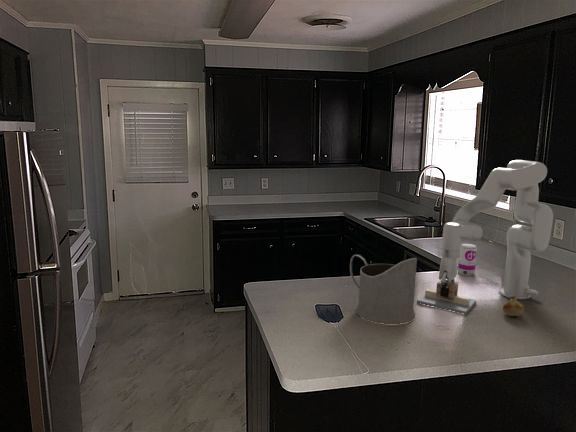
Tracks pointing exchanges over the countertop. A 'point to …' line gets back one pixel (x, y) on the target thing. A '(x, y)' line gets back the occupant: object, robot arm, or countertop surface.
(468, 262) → the supplement can
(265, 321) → the countertop surface
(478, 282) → the countertop surface
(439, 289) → the saddle block
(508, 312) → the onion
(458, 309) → the cleat board
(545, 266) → the countertop surface
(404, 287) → the pitcher
